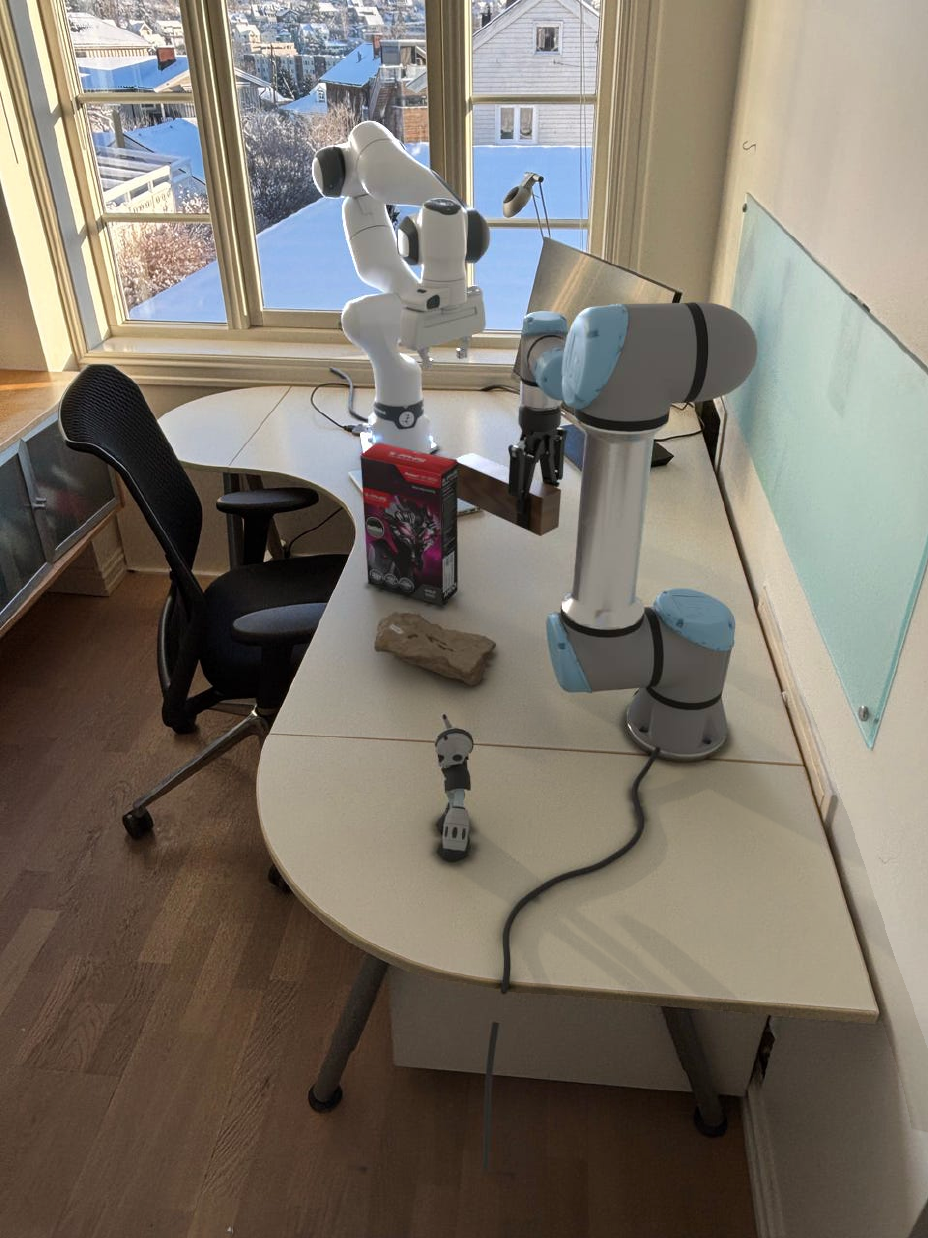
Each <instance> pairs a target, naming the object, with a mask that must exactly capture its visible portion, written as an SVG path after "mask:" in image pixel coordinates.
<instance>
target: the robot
mask: <svg viewBox="0 0 928 1238" xmlns="http://www.w3.org/2000/svg"><path fill="white" fill-rule="evenodd" d="M442 719H443V722H444V725H445V728H446V729H445V730H443V731H441V732H440V733H439V734H438V735H436V738H435V741H434V742H433V743H434V751H435V753H436V755H437V766H438V767H440V768H441V769H440V770H441V773H442V775H443V777H444V779H445V780H444V781H443V786H444V794H446V797H447V799H448V801H447V804H446V806H445V808H444V811H443V813H442V815H441V816H440V818H438V820H437V821H436V823H435V826H436V828H437V831H438V833H439V834H441V835H442V837H441V839H440V843H439V845H438V847H437V850H436V854H437V855H438V856H440V857H441V859H442V860H444V861H447V862H457V861H459V860H462V859H464V858H466V857H468V856H469V854H470V850H471V839H470V834H469V833H470V816H469V811H468V809H466V807H465V804H464V803H465V802H464V801H465V798H466V791H468V792H469V791H470V792H471V790H472V781H471V774H470V770H469V769H468V761H469V760H470V757H469V754H472V752H473V750H474V745H475V744H474V738H473V736H472V734H471V733H470V732H469V731H468V730H466V729H465V728H462V727H458V726H453V725H452V724H451V722H450V720H449V718H448V716H447V714H445V713H443V715H442ZM465 790H466V791H465Z"/></svg>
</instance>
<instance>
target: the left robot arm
mask: <svg viewBox="0 0 928 1238" xmlns="http://www.w3.org/2000/svg"><path fill="white" fill-rule="evenodd" d="M311 170H312V171H311V172H312V178H313V181H314V185H316V188H317V190H318V192H319V193H320V194H321V195H322V196H323V198H326V199H333V200H334V199H336V200H339V199H340V198H345V199H344V201H343V204H342V209H341V210H342V211H341V212H342V220H343V228H344V233H345V237H346V241H347V244H348V248H349V251H350V254H351V257H352V261H353V264H354V267H355V270H356V273H357V275H358V277H359V278H360V280H361V281H362V282H363V283H364V284H366V285H368V286H370V287H373V288H375V289H377V290H379V291H381V293H375V294H368V295H364V296H361V297H358V298H356V299H353V300H349V301H348V302H346V304H345V306H344V308H343V310H342V314H341V327H342V330H343V333H344V335H345V336H346V338H347V340H348V341H350V343H352V344H353V345H355V346H356V347H358V348H359V349H360V350H361V351H362V352H364V353H365V355H366V357H367V358H368V361H370V363H371V364H370V365H371V367H372V370H373V371H372V372H373V377H374V387H375V398H374V401H373V412H372V413H371V414H370V415H369V416H368V417H364V416H362V415H360V414H358V413H357V412H356V411H355V410H354V409H353V397H354V385H353V382H352V380H351V378H350V377H349V376H348V375H347V374H346V373H344V372H342V371H340V370H339V369H336V368H335V367H332V366H329V367H328V369H329V370H330V371H332V372H334V373H336V374H338V375H340V376H342V377H343V378H344V379H345V380H346V381H347V382H348V385H349V397H348V410H349V412H350V414H351V415H352V416H354V417H355V418H357V419H358V420H360V421H363V422H366V423H363V424H362V432H360V434H359V440H360V444H361V449H362V454H363V453H364V452H365V451H366V450H367V449H368V448H370V447H371V446H373V445H374V444H376V443H378V442H379V443H384V444H388V445H392V446H397V447H401V448H405V449H410V450H414V451H418V452H422V453H427V454H431V453H432V452H434V451H436V450H437V449H438V446H437V443H435V442H434V441H433V440H434V438H433V436H432V434H431V433H432V432H431V423H430V422H431V421H430V418H429V417H428V416H427V415H426V414H424V413H425V401H424V400H425V399H424V397H423V387H422V386H423V385H422V369H421V366H422V368H423V369H424V370H430V369H433V368H434V367H435V366H434V362H435V361H434V359H433V358H431V357H430V355H429V353H430V348H431V347H435V346H438V345H442V344H446V343H448V342H453V341H456V340H460V344H459V346H458V348H456V350H455V352H456V358H457V359H459V360H464V359H467V358H468V350H469V348H470V345H471V344H472V341H473V335H477V334H481V333H483V332H484V331H485V328H486V327H487V326H486V325H487V322H486V321H487V320H486V309H485V302H484V299H483V295H484V294H483V290H482V289H481V288H480V287H479V286H478V285H477V284H472V285H470V286H468V281H467V280H468V275H467V273H468V272H467V269H466V264H476V263H478V262H479V261H480V260H481V259H482V258H483V256H484V255H485V254H486V253H487V251H488V249H489V246H490V242H491V233H490V227H489V224H488V222H487V220H486V218H485V217H484V216H483V215H482V213H481V212H480V211H478V209H476V208H475V207H472V206H470V205H468V204H467V202H465V201H464V200H463V199H462V197H460V195H459V194H458V193H457V192H456V191H455V190H454V189H453V188H452V187H451V186H450V185H449V183H447V182H446V181H445V180H444V179H443V177H441V176H440V175H439V174H438V173H437V172H436V171H433V170H432V169H430V168H429V167H427V166H425V165H423V164H422V163H420V162H419V161H417V160H416V159H415V158H413V157H412V156H411V155H410V154H409V153H408V150H407V148H406V146H405V144H404V143H403V142H402V141H401V140H399V139H397V138H396V137H395V136H394V135H393V133H392V132H390V131H389V130H388V129H387V128H386V127H385V126H384V125H382V124H381V123H379V122H376V121H373V120H367V121H362V122H361V123H359V124H357V125H356V126H355V127H354V128H353V129H352V130H351V132H350V133H349V136H348V139H347V142H346V143H341V144H337V145H331V144H330V145H327V146H325V147H322V148H320V149H318V150H317V151H316V153H315V154H314V156H313V158H312V167H311ZM388 205H389V206H402V207H403V206H406V207H416V208H420V210H419V211H417V212H415V213H413V214H409V215H406V216H405V217H404V218H403V219H402V220H401V221H400V223H399V224H398V226H397V228H396V233H395V230H394V226H393V224H392V221H391V219H390V216H389V214H388V210H387V206H388ZM410 266H413V267H421V273H420V278H419V277H418V276H417V274H415V272H413V270H412V269H411V268H410ZM399 343H401V344H402V346H403V347H404V348H405V349H407V350H410V351H414V352H415V351H416V353H417V354H418V356H419V357H420V359H421V366H420V364H419V363H418V362H417V360H415V359H414V358H412V357H411V356H409V355H406V354H404V353H401V352H400V350H399V345H400V344H399Z"/></svg>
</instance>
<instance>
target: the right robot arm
mask: <svg viewBox="0 0 928 1238" xmlns="http://www.w3.org/2000/svg"><path fill="white" fill-rule="evenodd" d="M520 337H521V352H520V354H521V355H520V376H519V377H520V378H519V400H518V401H519V403H520V404H519V405H518V419H517V423H518V425H519V427H520V429H521V434H520V436H519V441H518V442H517V443H516V444H515V445H514V444H509V446H508V448H507V449H508V450H507V451H508V454H509V466H508V468H509V484H508V494H509V495H511V496H513V497H515V498H516V512H517V525H516V527H519V528H521V529H523V530H525V531H528V530H529V529H530V518H531V500H532V497H529V492H530V488H531V483H532V479H533V478H534V474H535V469H536V465H537V464H539V466H540V472H541V479H542V482H544V483H546V484H549V485H551V486H553V487H556V488H558V487H559V486H560V482H559V481H561V480H562V479H563V478H564V465H565V464H564V462H565V445H566V439H567V436H568V430H567V429H565V428H563V427H561V423H562V409H563V408H562V406H561V405H562V404H563V402H565V405H566V406H568V407H569V408H572V409H574V412H573V417H574V419H575V421H576V422H577V423H578V424H579V426H581V427H582V429H584V431H585V432H584V440H583V441H584V442H583V455H582V467H581V479H580V493H579V505H578V507H579V508H578V517H577V518H578V519H577V520H578V522H577V531H576V546H575V556H574V557H575V560H574V572H573V584H572V585H573V586H572V589H570V590H569V591H568V592H566V593H565V594H564V595H563V596H562V598H561V602H560V610H559V611H560V612H556V611H554V612H552V613H550V614H548V615H547V619H546V621H545V623H546V625H545V626H546V627H545V628H546V639H547V645H548V651H549V656H550V661H551V665H552V670H553V673H554V675H555V678H556V681H557V683H558V685H559V687H560V688H561V689H562V690H563V691H565V692H567V693H571V694H572V693H573V694H575V693H588V694H593V693H594V692H595V693H596V692H597V693H598V692H609V691H621V690H632V689H637V690H636V691H635V692H634V694H633V695H632V696H631V697H632V698H633V699H632V701H631V702H630V704H629V706H628V708H627V711H626V719H625V728H626V732H627V734H628V736H629V738H630V739H631V741H632V742H634V744H636V745H637V746H638V747H639V748H640V749H641V750H643V751H645V752H646V753H648V754H650V756H649V759H648V760H647V761H646V763H645V765H644V767H643V768H642V769H641V771H640V772H639V774H638V775H637V777H636V778H635V780H634V781H633V785H632V788H631V797H632V802H633V805H634V809H635V812H636V815H637V819H638V822H637V828H636V831H635V833H634V834H633V836H632V838H630V840H629V841H628V842H627V843H626V844H625V845H624V846H623V847H622V848H620V849H619V850H617V851H615V852H614V853H613V854H611V855H608V857H606V858H604V859H603V860H601V861H599V862H596V863H593V864H591V865H589V866H588V865H587V866H586V867H582V868H579V869H574V870H572V871H567V872H564V873H562V874H560V875H557V876H554V877H553V878H551V879H549V880H547V881H546V882H544V883H542V884H541V885H539V886H538V887H535V888H534V889H533V890H531V891H530V892H528V893H527V894H526V895H525V896H524V897H522V898H521V899H520V900H519V901H518V902H517V904H515V906H514V907H513V909H512V910H511V912H510V913H509V915H508V917H507V919H506V921H505V924H504V927H503V930H502V953H503V972H502V973H503V975H502V981H501V987H500V994H501V995H507V993H508V992H509V986H510V980H511V968H512V964H511V963H512V961H511V948H510V947H511V946H510V933H511V929H512V926H513V924H514V921H515V919H516V917H517V916H518V914H519V913H520V911H521V910H522V909H523V908H524V907H525V906H526V905H527V904H528V903H529V902H530V901H532V900H533V899H534V898H536V897H537V896H539V895H540V894H542V893H544V892H545V891H547V890H548V889H550V888H552V887H553V886H556V885H557V884H559V883H561V882H564V881H567V880H570V879H573V878H575V877H580V876H583V875H587V874H591V873H593V872H596V871H598V870H601V869H603V868H605V867H607V866H609V865H611V864H612V863H614V862H615V861H616V860H618V859H620V858H621V857H623V856H624V855H625V854H626V853H628V852H629V851H631V849H632V848H634V846H635V845H636V844H637V843H638V842H639V839H640V838H641V836H642V834H643V831H644V828H645V816H644V812H643V809H642V807H641V806H642V805H641V804H640V800H639V795H638V793H639V792H638V791H639V786H640V784H641V782H642V780H644V779H643V778H644V777H645V776H646V774H647V773H648V772H649V770H650V769H651V767H652V766H653V764H654V762H655V761H656V759H657V758H659V759H662V760H666V761H670V762H675V763H694V762H700V761H703V760H706V759H709V758H711V757H714V755H716V754H718V752H720V751H721V750H722V748H723V747H724V744H725V743H726V740H727V739H726V738H727V733H728V721H727V716H726V712H725V708H724V707H725V706H724V701H723V692H724V686H725V682H726V678H727V674H728V669H729V664H730V659H731V654H732V651H733V650H732V649H733V648H734V646H735V632H736V618H735V617H734V614H733V612H732V611H731V609H730V608H729V607H728V606H727V605H726V604H725V603H723V602H722V601H721V600H719V599H718V598H716V597H715V596H712V595H710V594H708V593H706V592H704V591H699V590H696V589H691V588H682V587H680V588H679V587H678V588H677V587H676V588H668V589H665V590H663V591H662V592H660V593H659V594H658V595H657V596H656V598H655V599H654V601H653V606H645V604H644V602H643V601H642V600H641V598H640V597H639V596H638V595H636V592H637V584H638V575H639V568H640V567H639V566H640V558H641V552H642V551H641V549H642V541H643V534H644V525H645V516H646V509H647V508H646V507H647V500H648V491H649V482H650V475H651V465H652V457H653V448H654V440H655V435H656V434H657V433H659V432H660V431H661V430H662V429H664V428H665V427H667V425H668V424H669V420H670V411H671V407H672V405H673V404H689V403H702V402H706V401H712V400H715V399H718V398H721V397H723V396H725V395H728V394H730V393H732V392H734V391H735V390H736V389H738V388H739V387H741V385H743V384H744V383H745V382H746V381H747V379H748V377H749V376H750V375H751V373H752V372H753V369H754V367H755V365H756V361H757V358H758V357H757V356H758V343H757V342H758V341H757V337H756V334H755V332H754V330H753V328H752V326H751V325H750V323H749V322H748V321H747V320H746V319H745V318H744V317H743V316H742V315H741V314H739V313H738V312H737V311H736V310H733V309H731V308H729V307H727V306H725V305H722V304H718V303H713V302H704V301H690V302H666V303H665V302H664V303H663V302H662V303H659V302H657V303H656V302H655V303H620V302H616V303H613V304H610V305H599V306H598V305H597V306H589V307H587V308H585V309H583V310H582V311H580V312H579V313H578V315H576V317H575V319H574V321H573V322H572V324H571V326H570V328H569V331H568V319H567V317H566V316H565V315H564V314H562V313H559V312H557V311H556V312H555V311H549V310H548V311H546V310H544V311H543V310H541V311H539V310H538V311H534V312H530V313H528V314H526V315H525V316H524V318H523V320H522V329H521V333H520ZM499 1027H500V1022H495V1021H492V1022H491V1028H490V1036H489V1041H488V1042H489V1043H488V1049H487V1058H486V1059H487V1060H486V1068H485V1069H486V1070H485V1082H484V1105H483V1106H484V1107H483V1108H484V1112H483V1153H482V1172H483V1173H485V1174H486V1173H488V1172H489V1167H490V1166H489V1165H490V1150H491V1149H490V1148H491V1114H492V1113H491V1110H492V1107H491V1106H492V1087H493V1086H492V1085H493V1073H494V1063H495V1053H496V1047H497V1040H498V1033H499Z"/></svg>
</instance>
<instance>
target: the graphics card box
mask: <svg viewBox="0 0 928 1238" xmlns="http://www.w3.org/2000/svg"><path fill="white" fill-rule="evenodd" d="M359 458H360V470H361V486H362V487H361V488H362V504H363V518H364V534H365V535H364V537H365V551H366V572H367V584H369V585H371V586H374V587H378V588H382V589H384V590H387V591H390V592H391V591H392V592H395V593H397V594H402V595H406V596H408V597H412V598H415V599H418V600H422V601H426V602H429V603H433V604H435V605H439V606H443V605H444V604H446V602H448V601H449V600H450V599H451V598H452V597H453V596H454V595H455V594H456V593H457V592H458V589H459V584H458V583H459V576H458V575H459V574H458V573H459V555H458V554H459V553H458V552H459V551H458V550H459V548H458V547H459V545H458V542H459V541H458V537H459V536H458V535H459V534H458V532H459V531H458V506H459V505H458V503H459V502H458V500H459V499H458V498H457V495H458V461H457V459H456V458H448V457H444V456H440V455H435V454H431V453H430V454H427V453H422V452H418V451H414V450H410V449H405V448H401V447H397V446H392V445H388V444H384V443H379V442H378V443H376V444H374V445H373V446H371V447H370V448H368V449H367V450H366V451H365V452H364V453H363V452H362V454H361V455H360V457H359Z"/></svg>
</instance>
